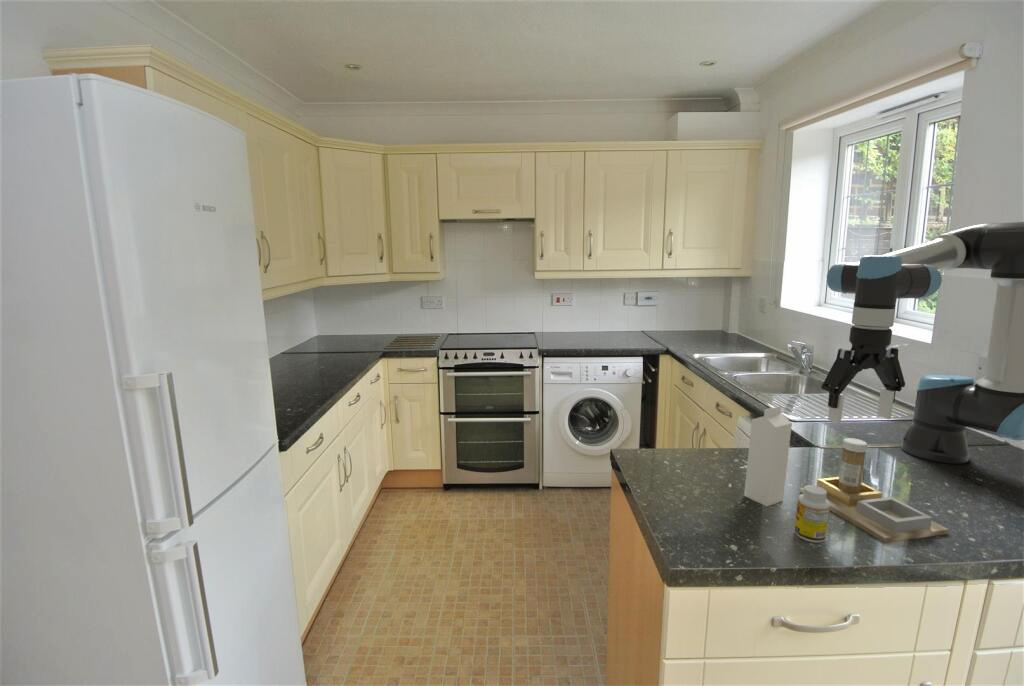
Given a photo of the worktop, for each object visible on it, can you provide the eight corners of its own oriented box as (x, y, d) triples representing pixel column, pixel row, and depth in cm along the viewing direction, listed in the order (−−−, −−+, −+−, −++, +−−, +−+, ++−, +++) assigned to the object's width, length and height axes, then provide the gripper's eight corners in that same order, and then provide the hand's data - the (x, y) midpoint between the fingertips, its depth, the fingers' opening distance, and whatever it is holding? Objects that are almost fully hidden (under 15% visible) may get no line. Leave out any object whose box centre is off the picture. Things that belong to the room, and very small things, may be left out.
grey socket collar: (889, 507, 113) (891, 496, 113) (930, 528, 105) (932, 517, 104) (856, 511, 111) (857, 500, 111) (894, 533, 103) (896, 522, 102)
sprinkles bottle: (863, 497, 118) (871, 442, 116) (854, 502, 116) (862, 446, 113) (841, 489, 122) (849, 435, 119) (832, 494, 119) (839, 439, 117)
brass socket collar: (847, 485, 124) (848, 475, 123) (881, 503, 115) (882, 492, 115) (816, 488, 122) (817, 479, 122) (848, 507, 113) (849, 496, 113)
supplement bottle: (797, 526, 107) (802, 480, 105) (827, 535, 103) (834, 488, 102) (791, 537, 103) (796, 489, 101) (822, 547, 99) (829, 498, 97)
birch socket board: (855, 486, 126) (855, 482, 126) (947, 533, 105) (948, 529, 105) (800, 492, 122) (800, 488, 122) (884, 542, 101) (885, 538, 101)
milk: (783, 501, 118) (794, 409, 114) (766, 507, 115) (777, 413, 111) (759, 490, 123) (769, 402, 119) (743, 495, 120) (752, 406, 116)
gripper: (901, 322, 118) (888, 410, 122) (809, 326, 112) (799, 417, 116) (934, 327, 111) (919, 420, 114) (838, 331, 105) (826, 429, 109)
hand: (859, 419), depth 115 cm, fingers open, 13 cm apart
